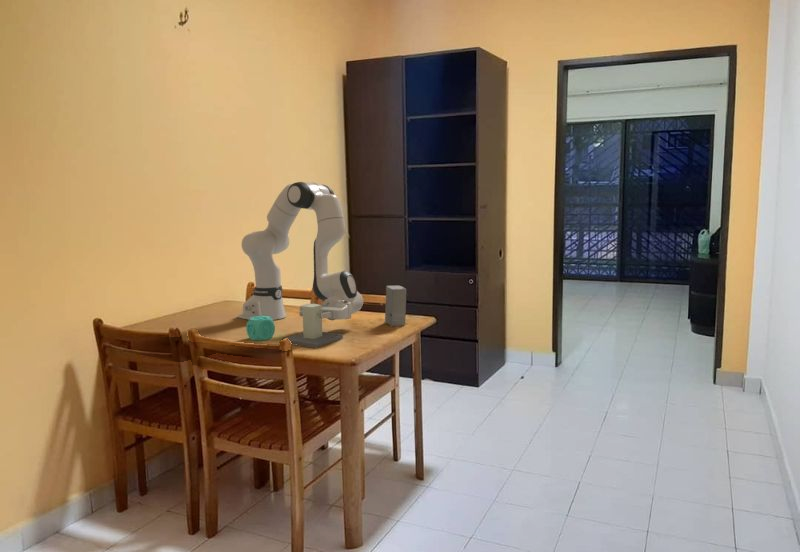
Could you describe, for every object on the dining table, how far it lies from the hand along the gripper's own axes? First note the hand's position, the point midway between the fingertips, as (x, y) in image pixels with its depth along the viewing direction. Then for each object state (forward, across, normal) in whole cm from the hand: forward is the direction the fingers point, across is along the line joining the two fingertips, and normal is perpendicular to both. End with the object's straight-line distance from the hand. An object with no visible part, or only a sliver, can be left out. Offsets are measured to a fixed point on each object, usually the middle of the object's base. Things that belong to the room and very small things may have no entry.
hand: (310, 315), depth 228 cm
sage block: (-1, 0, +8) cm, 9 cm away
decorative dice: (+5, -21, +10) cm, 24 cm away
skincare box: (-39, +13, +10) cm, 42 cm away
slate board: (-1, 0, +10) cm, 10 cm away
